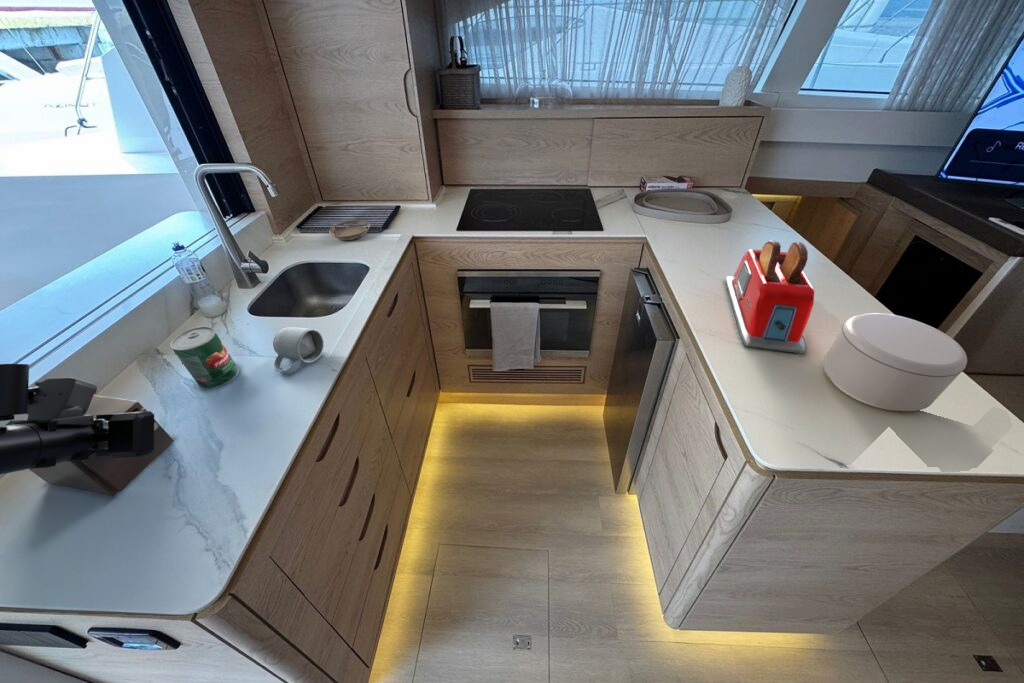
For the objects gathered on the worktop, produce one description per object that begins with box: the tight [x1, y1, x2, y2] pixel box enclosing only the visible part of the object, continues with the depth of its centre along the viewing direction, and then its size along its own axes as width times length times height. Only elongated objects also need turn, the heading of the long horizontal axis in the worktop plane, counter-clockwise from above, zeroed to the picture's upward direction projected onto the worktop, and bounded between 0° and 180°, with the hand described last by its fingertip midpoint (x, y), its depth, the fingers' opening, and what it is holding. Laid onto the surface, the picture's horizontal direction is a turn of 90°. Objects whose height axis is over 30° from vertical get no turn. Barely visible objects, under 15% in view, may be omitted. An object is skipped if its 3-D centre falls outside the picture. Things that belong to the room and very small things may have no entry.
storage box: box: [28, 394, 145, 497], centre depth 67 cm, size 14×12×11 cm
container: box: [822, 312, 968, 412], centre depth 76 cm, size 18×18×12 cm
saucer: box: [328, 219, 371, 241], centre depth 147 cm, size 15×15×3 cm
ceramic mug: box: [272, 326, 325, 375], centre depth 88 cm, size 11×8×8 cm
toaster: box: [725, 240, 815, 354], centre depth 94 cm, size 32×13×19 cm, turn 164°
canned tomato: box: [169, 326, 240, 390], centre depth 84 cm, size 8×8×11 cm
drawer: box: [79, 408, 175, 493], centre depth 66 cm, size 17×10×9 cm, turn 79°
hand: (135, 429), depth 64 cm, fingers closed
